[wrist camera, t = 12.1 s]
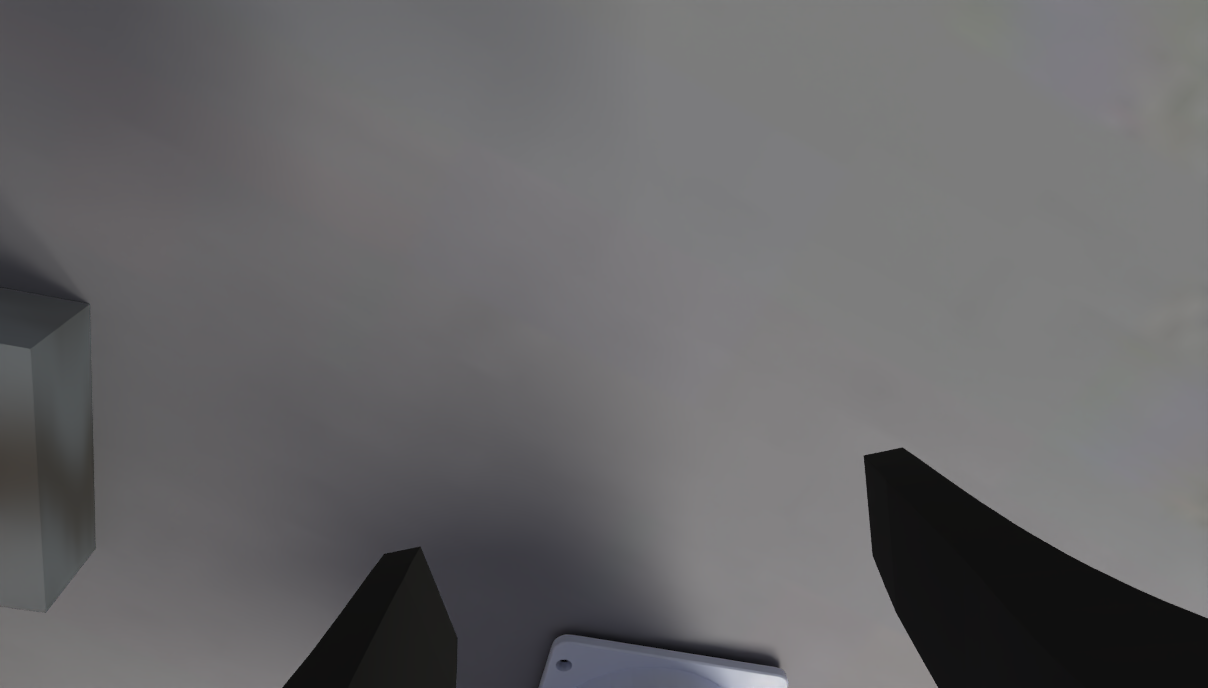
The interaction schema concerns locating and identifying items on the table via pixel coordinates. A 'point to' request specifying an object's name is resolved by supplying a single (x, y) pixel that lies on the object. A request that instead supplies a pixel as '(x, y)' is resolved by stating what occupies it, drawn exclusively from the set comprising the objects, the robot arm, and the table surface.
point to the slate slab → (44, 447)
